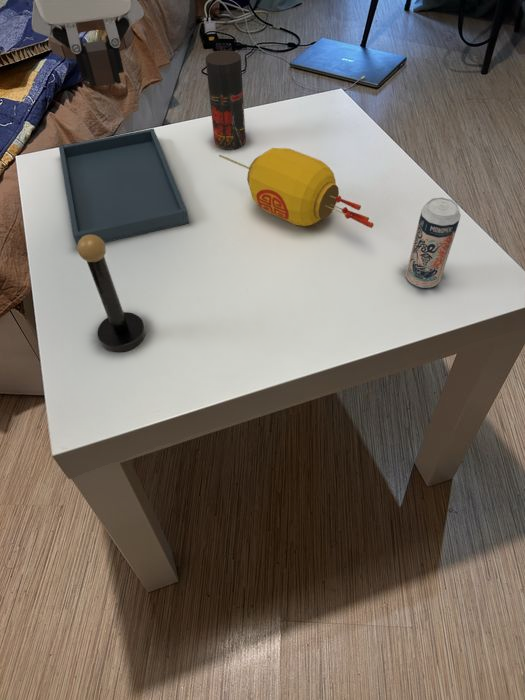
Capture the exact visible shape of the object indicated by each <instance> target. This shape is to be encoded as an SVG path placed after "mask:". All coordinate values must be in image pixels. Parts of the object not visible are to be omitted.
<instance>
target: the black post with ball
mask: <svg viewBox="0 0 525 700" xmlns="http://www.w3.org/2000/svg"><path fill="white" fill-rule="evenodd" d="M76 247H77V253H78V255H79V257H80V258H81V259H82V260H84V261H86V263H87V266H88V270H89V271H90V274H91V278H92V279H93V282H94V285H95V288H96V290H97V293H98V295H99V297H100V301H101V304H102V307H103V309H104V311H105V314H106V316H107V317H106V318H105V319H103V320H102V321H101V323H100V324H99V326H98V327H97V333H96V334H97V338H98V340H99V343H100V345H101V346H102V347H103V348H104V349H105V350H107V351H109V352H113V353H123V352H124V353H125V352H128V351H131V350H132V349H135V348H136V347H138V346H139V345H140V344H141V343H142V342H143V340H144V338H145V336H146V327H145V324H144V321H143V319H142V318H141V317H140V316H139V315H137V314H136V313H132V312H129V311H128V312H127V311H124V310H123V307H122V305H121V301H120V298H119V295H118V293H117V289H116V287H115V284H114V281H113V278H112V275H111V272H110V269H109V266H108V263H107V260H106V258H105V255H106V251H107V246H106V242H104V241H103V240H102V239H101V238H100V237H98V236H96V235H91V234H90V235H85V236H83V237H82V238H81V239H80V240H79V242H78V245H77V244H76Z"/></svg>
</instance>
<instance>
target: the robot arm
mask: <svg viewBox="0 0 525 700" xmlns="http://www.w3.org/2000/svg"><path fill="white" fill-rule="evenodd" d="M32 3H33V5H32V14H31V29H32V31H33V32H34V33H36V34H38V35H43V36H45V37H47V38H48V37H53V38H55V39H56V40H58V41H59V42H61V43H62V44H63V45H65V46H66V47H68V48H69V49H71V51H72V52H73V53H75V56H76V59H75V60H76V63H77V66H78V71H79V73H80V76H81V80H86V79H87V80H88V83H89V88H90V89H95V87H96V84H95V80H94V76H93V72H92V69H91V65H90V61H89V57H88V54H87V52H86V48H85V46H83V43H84V42H83V40H82V39H80V35H79V33H78V31H77V26H76V23H78V22H85V21H92V20H99V19H103V22H104V26H105V30H104V31H105V33H106V35H105V39H106V42H105V44H106V47H107V50H108V55H109V60H110V64H111V68H112V72H113V76H114V80H115V83H116V84H117V85H118V84H122V80H121V76H120V74H123V73H125V69H124V65H123V60H122V56H121V51H119V46H120V42H121V40H122V38H123V37H124V35H125V33H126V32H127V30H128V28H129V26H131V27H132V26H133V25H134V24H136V23H137V22H138V21H139V20H141V19H142V18H143V17H144V16H145V11H144V9H143V7H142V6H141V3H140V1H138V0H33V2H32ZM114 17H117V18H116V20H114ZM63 24H65V27H66V29H65V28H64V27H62V26H61V25H63ZM105 39H104V40H105Z"/></svg>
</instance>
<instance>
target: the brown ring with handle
mask: <svg viewBox="0 0 525 700" xmlns="http://www.w3.org/2000/svg"><path fill="white" fill-rule="evenodd" d="M117 17H118V16H117ZM117 17H114V20H116V18H117ZM61 26H62V27H64V28H65V29H66V27H65V24H63V25H61ZM76 26H77V31H78V34H81V33H86V32H93V31H106V30H105V26H104V22H103V19H99V20H92V21H85V22H78V23H76ZM47 39H48V43H49V47H50V49H51V52H52V53H53V54H54V55H56V56H59V57H60V58H63V59H69V60H71V59H72V60H77V59H76V56H75V53H73V52H72V51H71V49H69V48H68V47H66V46H65V45H63V44H62V43H61V42H59V41H58V40H56V39H55V38H53V37H48V36H47ZM134 40H135V39H134V34H133V28H132V25H131V26H129V28H128V30H127V32H126V33H125V35H124V37H123V38H122V40H121V42H120V46H119V51H120V52H122V51H125V50H126V49H128V47H129V46H130V45H131V44H132V43H133V42H134ZM105 42H106V39H102V40H96V41H89V42H83V46H85V48H86V52H87V54H88V57H89V61H90V65H91V69H92V72H93V76H94V80H95V84H96V86H95V87H96V88H100V87H107V86H112V85H116V84H117V83H115V80H114V76H113V72H112V68H111V64H110V60H109V55H108V50H107V47H106V44H105Z"/></svg>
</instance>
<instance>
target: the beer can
mask: <svg viewBox="0 0 525 700" xmlns="http://www.w3.org/2000/svg"><path fill="white" fill-rule="evenodd" d="M420 210H421V211H420V215H419V219H418V224H417V227H416V232H415V236H414V239H413V243H412V248H411V252H410V255H409V260H408V264H407V268H406V271H405V276H406V277H405V278H407V281H408V282H410V283H411V284H412V285H414V286H416V287H418V288H423V289H425V288H433V287H435V286H437V285H438V284H439V283H440V282H441V280H442V277H443V274H444V270H445V267H446V264H447V261H448V258H449V254H450V252H451V248H452V246H453V243H454V239H455V237H456V232H457V229H458V227H459V223H460V220H461V218H462V217H461V216H462V215H461V211H460V208H459V204H457V203H456V202H455V201H454V200H452V199H450V198H445V197H442V196H441V197H433V198H431V199H430V200H429V201H427V202H426V203H425V205H423V206H422V208H421V209H420Z"/></svg>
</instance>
